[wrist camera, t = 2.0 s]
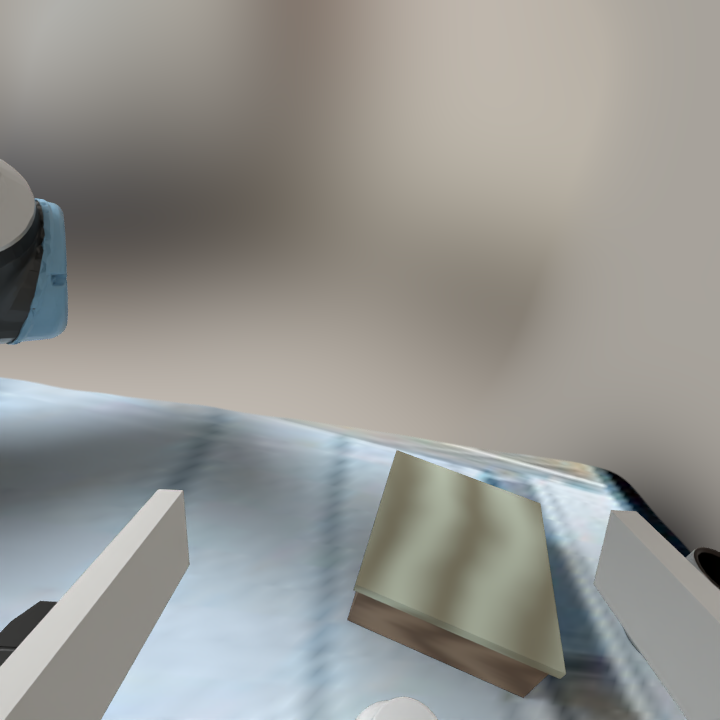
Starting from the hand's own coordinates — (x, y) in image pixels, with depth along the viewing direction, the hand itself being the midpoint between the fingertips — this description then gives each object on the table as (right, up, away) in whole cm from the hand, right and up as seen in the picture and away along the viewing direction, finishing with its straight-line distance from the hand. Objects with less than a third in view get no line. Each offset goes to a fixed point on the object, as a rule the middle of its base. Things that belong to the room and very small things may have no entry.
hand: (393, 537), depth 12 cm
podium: (+6, -14, +24) cm, 28 cm away
